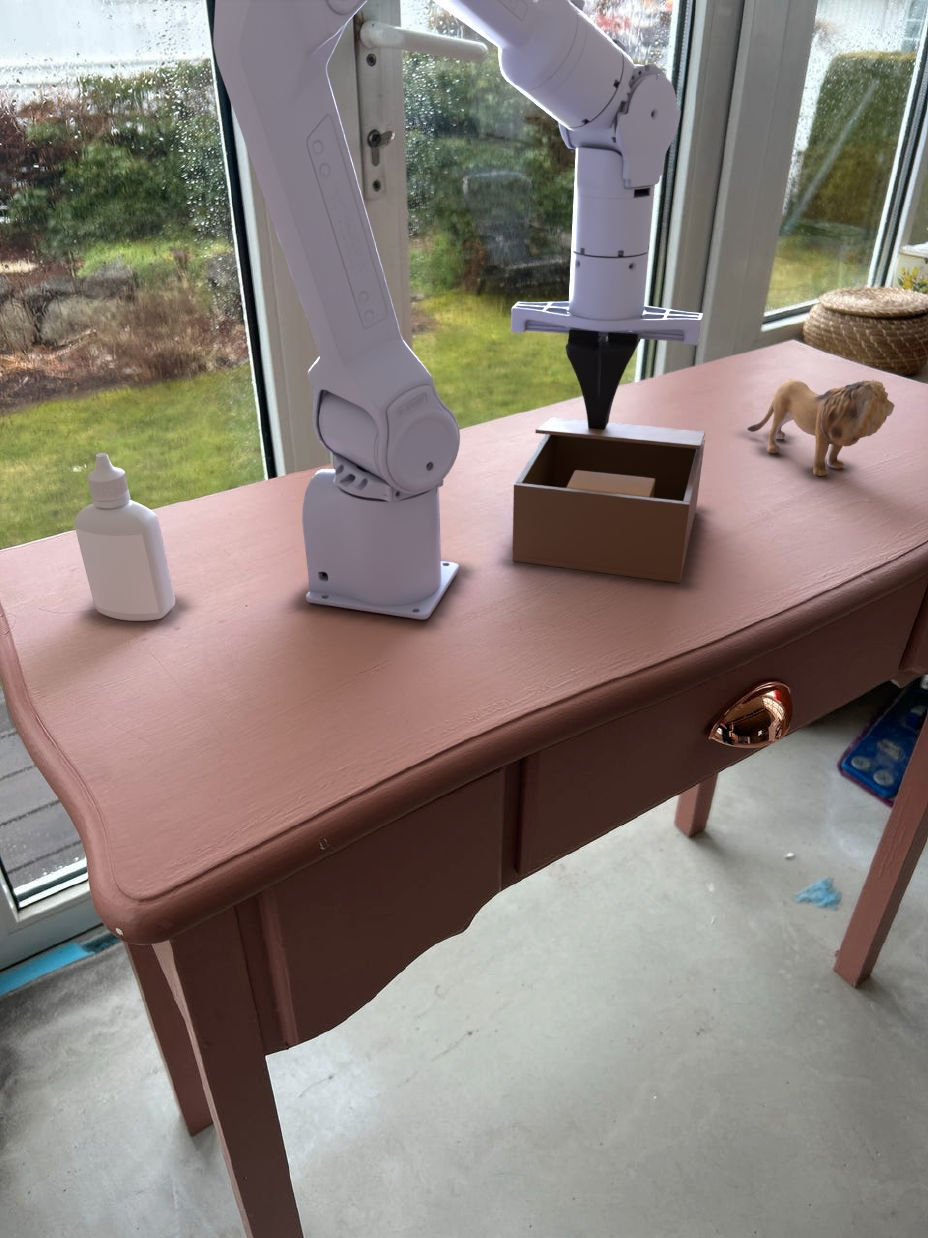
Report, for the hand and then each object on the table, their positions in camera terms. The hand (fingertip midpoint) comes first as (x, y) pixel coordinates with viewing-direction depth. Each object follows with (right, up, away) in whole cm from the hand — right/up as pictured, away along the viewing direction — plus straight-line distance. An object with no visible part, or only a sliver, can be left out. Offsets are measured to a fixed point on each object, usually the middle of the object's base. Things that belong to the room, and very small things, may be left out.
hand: (598, 424), depth 78 cm
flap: (+2, -1, -1) cm, 2 cm away
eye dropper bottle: (-35, -15, -9) cm, 39 cm away
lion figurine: (+22, -1, +14) cm, 26 cm away
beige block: (+1, -9, -1) cm, 9 cm away
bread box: (+1, -9, +1) cm, 9 cm away
